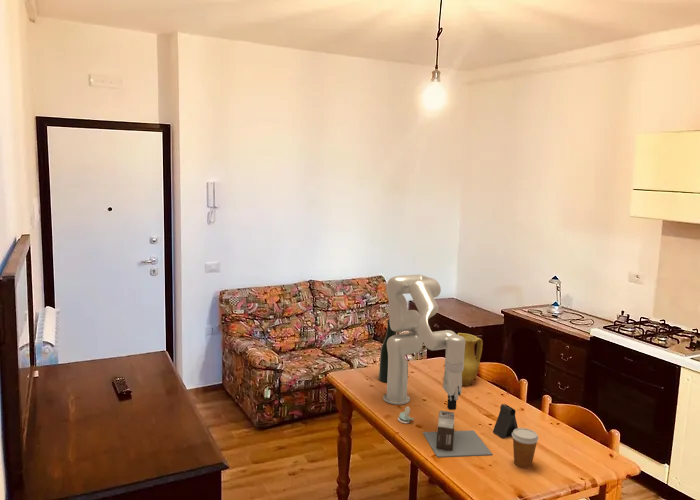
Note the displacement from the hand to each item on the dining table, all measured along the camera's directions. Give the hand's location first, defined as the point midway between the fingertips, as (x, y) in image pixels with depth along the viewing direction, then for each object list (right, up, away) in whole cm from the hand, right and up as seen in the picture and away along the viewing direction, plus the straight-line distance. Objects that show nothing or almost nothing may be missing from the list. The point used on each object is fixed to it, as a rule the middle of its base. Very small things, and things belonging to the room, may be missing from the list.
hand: (451, 408), depth 227 cm
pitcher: (+17, -4, +62) cm, 65 cm away
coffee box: (-2, -6, +2) cm, 6 cm away
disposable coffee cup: (+23, -15, -20) cm, 34 cm away
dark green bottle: (-21, -3, +61) cm, 65 cm away
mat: (+1, -12, -6) cm, 14 cm away
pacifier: (-18, -9, +13) cm, 24 cm away
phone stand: (+24, -12, +4) cm, 27 cm away
